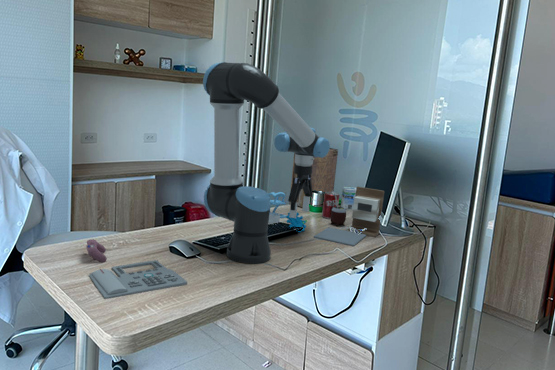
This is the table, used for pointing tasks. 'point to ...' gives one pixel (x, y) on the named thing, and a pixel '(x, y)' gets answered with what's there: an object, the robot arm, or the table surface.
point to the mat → (340, 236)
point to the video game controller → (96, 250)
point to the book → (320, 174)
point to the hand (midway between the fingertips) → (299, 214)
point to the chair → (277, 201)
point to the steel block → (274, 218)
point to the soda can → (329, 204)
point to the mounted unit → (367, 210)
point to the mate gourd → (338, 214)
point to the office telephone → (135, 279)
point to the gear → (296, 221)
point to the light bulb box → (348, 197)
